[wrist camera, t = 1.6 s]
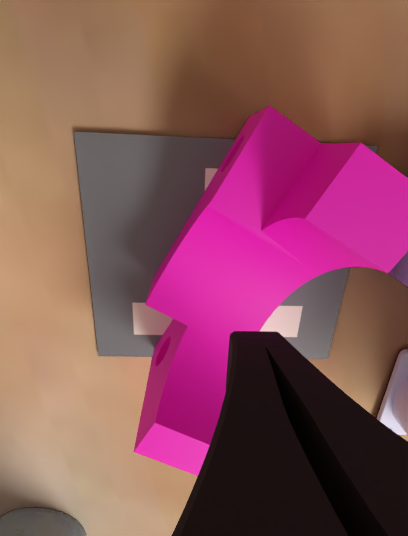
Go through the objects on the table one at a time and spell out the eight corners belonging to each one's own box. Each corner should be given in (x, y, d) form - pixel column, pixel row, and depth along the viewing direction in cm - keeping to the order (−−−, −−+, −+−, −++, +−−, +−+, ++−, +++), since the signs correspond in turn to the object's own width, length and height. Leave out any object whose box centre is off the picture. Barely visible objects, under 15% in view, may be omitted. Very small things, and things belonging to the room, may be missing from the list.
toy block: (249, 116, 15) (295, 91, 8) (341, 182, 17) (446, 207, 10) (120, 332, 20) (80, 431, 13) (201, 369, 21) (205, 478, 14)
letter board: (376, 145, 16) (379, 145, 16) (326, 357, 21) (327, 359, 21) (75, 131, 16) (73, 131, 15) (99, 354, 21) (98, 356, 21)
